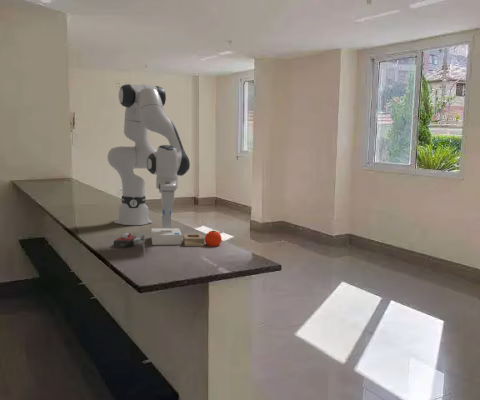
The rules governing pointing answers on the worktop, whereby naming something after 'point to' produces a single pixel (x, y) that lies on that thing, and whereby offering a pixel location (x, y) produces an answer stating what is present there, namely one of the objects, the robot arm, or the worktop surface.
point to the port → (166, 236)
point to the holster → (193, 239)
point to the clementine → (213, 238)
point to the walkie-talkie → (127, 240)
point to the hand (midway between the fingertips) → (166, 217)
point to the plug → (166, 219)
